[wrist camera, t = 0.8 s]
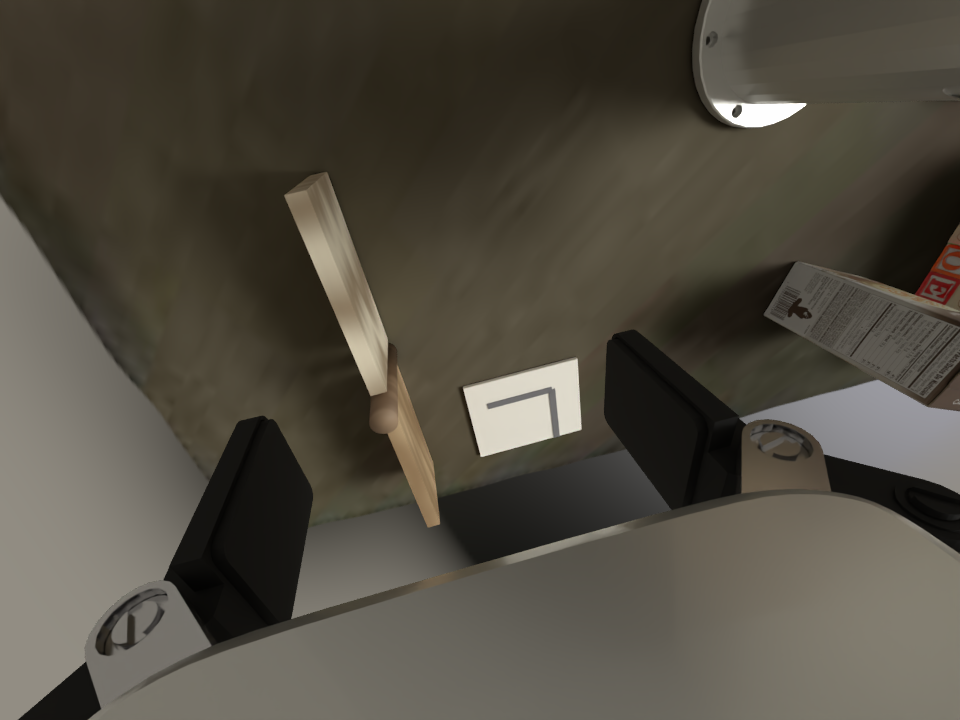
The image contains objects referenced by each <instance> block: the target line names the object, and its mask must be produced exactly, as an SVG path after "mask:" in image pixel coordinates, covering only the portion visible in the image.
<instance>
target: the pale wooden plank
mask: <svg viewBox="0 0 960 720" xmlns="http://www.w3.org/2000/svg"><path fill="white" fill-rule="evenodd" d="M284 196H285V199H286V201H287V203H288V206H289V208H290V210H291V213H292V215H293V217H294V220H295V222H296V224H297V226H298V229H299V231H300V233H301V236H302V238H303V240H304V243H305V245H306V247H307V250H308V252H309V254H310V257H311V259H312V261H313V264H314V266H315V268H316V271H317V273H318V275H319V277H320V280H321V282H322V284H323V287H324V289H325V291H326V294H327V296H328V298H329V301H330V303H331V305H332V308H333V310H334V312H335V315H336V317H337V319H338V322H339V324H340V326H341V328H342V331H343V333H344V335H345V338H346V340H347V342H348V345H349V347H350V349H351V352H352V354H353V356H354V359H355V361H356V363H357V366H358V368H359V370H360V373H361V375H362V377H363V380H364V382H365V384H366V386H367V389H368V391H369V393H370V396H373V395H377V394H380V393H384V392H387V360H388V338H387V336H386V333H385V330H384V327H383V325H382V322H381V319H380V316H379V314H378V311H377V308H376V305H375V303H374V300H373V297H372V294H371V292H370V289H369V286H368V283H367V281H366V278H365V275H364V272H363V270H362V267H361V264H360V261H359V259H358V256H357V253H356V250H355V248H354V245H353V242H352V239H351V237H350V234H349V231H348V228H347V226H346V223H345V220H344V217H343V214H342V212H341V209H340V206H339V203H338V201H337V198H336V195H335V192H334V190H333V187H332V184H331V181H330V179H329V176H328V173H327V172H323V173H319V174H314V175H310V176H309V177H307V178H306V179H305V180H303V181H302V182H301V183H299V184H298V185H297V186H295V187H294V188H293V189H292V190H290V191H289V192H288V193H286V194H285V195H284Z"/></svg>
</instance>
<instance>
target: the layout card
mask: <svg viewBox="0 0 960 720" xmlns="http://www.w3.org/2000/svg"><path fill="white" fill-rule="evenodd" d="M463 390H464V394H465V398H466V402H467V405H468V409H469V413H470V417H471V421H472V424H473V428H474V432H475V436H476V440H477V444H478V447H479V451H480V455H481V457H483V456H487V455H491V454H494V453H498V452H501V451H505V450H509V449H512V448H516V447H520V446H523V445H527V444H531V443H534V442H538V441H542V440H545V439H549V438H553V437H554V438H555V437H559V436H560V435H564V434H567V433H571V432H575V431H578V430H581V413H580V395H579V378H578V360H577V358H576V357H573V358H569V359H565V360H562V361H558V362H554V363H550V364H546V365H543V366H539V367H535V368H531V369H527V370H524V371H520V372H516V373H512V374H508V375H505V376H501V377H497V378H493V379H489V380H485V381H482V382H478V383H474V384H470V385H466V386H463Z"/></svg>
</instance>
